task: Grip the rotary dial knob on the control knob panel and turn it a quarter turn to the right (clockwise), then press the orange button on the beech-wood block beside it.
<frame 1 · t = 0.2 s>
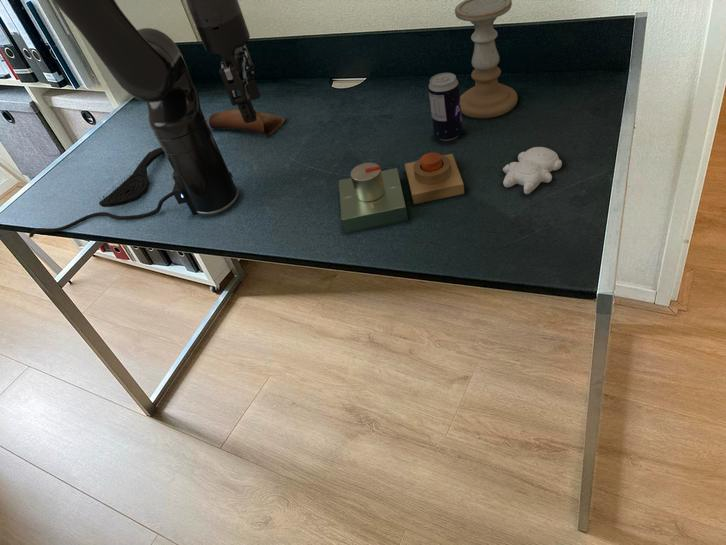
hand: (253, 109, 94), 17 cm above the table, tool pointing down, fingers open, 8 cm apart
button block: (434, 183, 97), on the table
rotary dial knob: (367, 181, 92), point 5 cm above the table, hinge at 0.0°
hairbrush: (141, 181, 120), on the table
button: (431, 162, 94), point 5 cm above the table, slide at 0.2 cm
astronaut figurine: (530, 174, 93), on the table
control knob panel: (373, 206, 96), on the table
beverage can: (448, 136, 107), on the table
sunglasses case: (249, 126, 129), on the table
candle holder: (487, 104, 113), on the table
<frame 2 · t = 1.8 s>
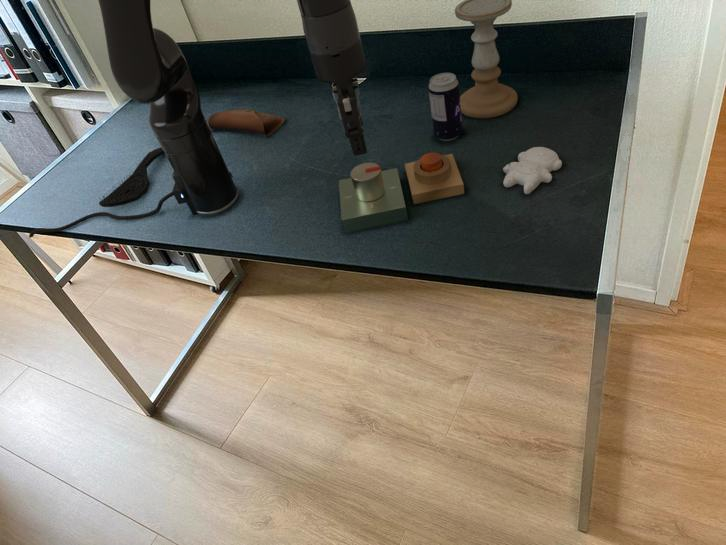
hand: (358, 139, 87), 14 cm above the table, tool pointing down, fingers open, 8 cm apart
nothing on the table moved.
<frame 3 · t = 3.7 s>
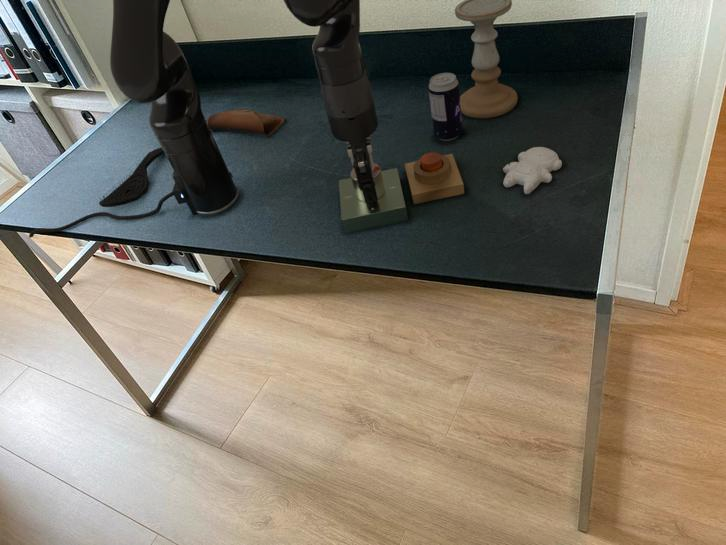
hand: (370, 191, 93), 3 cm above the table, tool pointing down, fingers closed on rotary dial knob, 5 cm apart
rotary dial knob: (367, 181, 92), point 5 cm above the table, hinge at 0.4°, touching gripper
everything else where it was.
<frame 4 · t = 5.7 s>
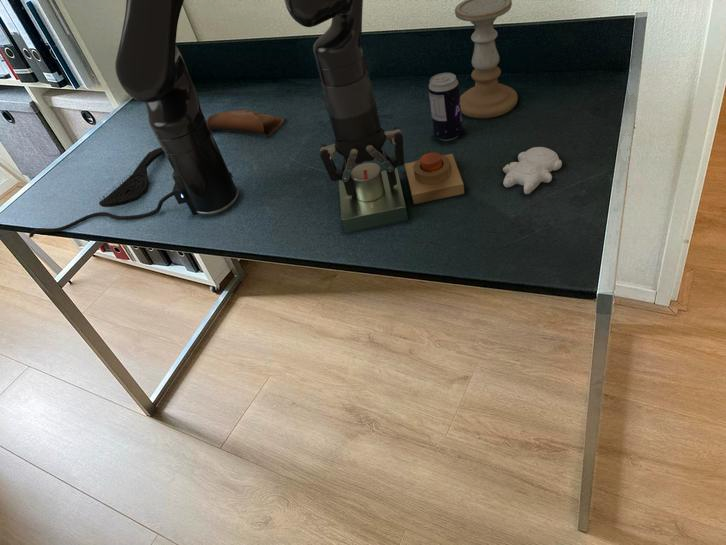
hand: (372, 190, 94), 3 cm above the table, tool pointing down, fingers open, 6 cm apart
rotary dial knob: (367, 181, 92), point 5 cm above the table, hinge at -91.3°
everything else where it was.
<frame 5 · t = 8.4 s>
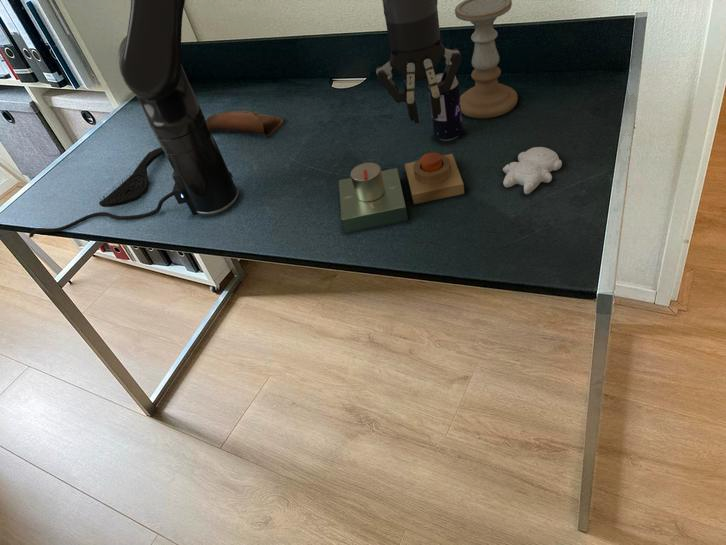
hand: (425, 118, 88), 13 cm above the table, tool pointing down, fingers closed
nothing on the table moved.
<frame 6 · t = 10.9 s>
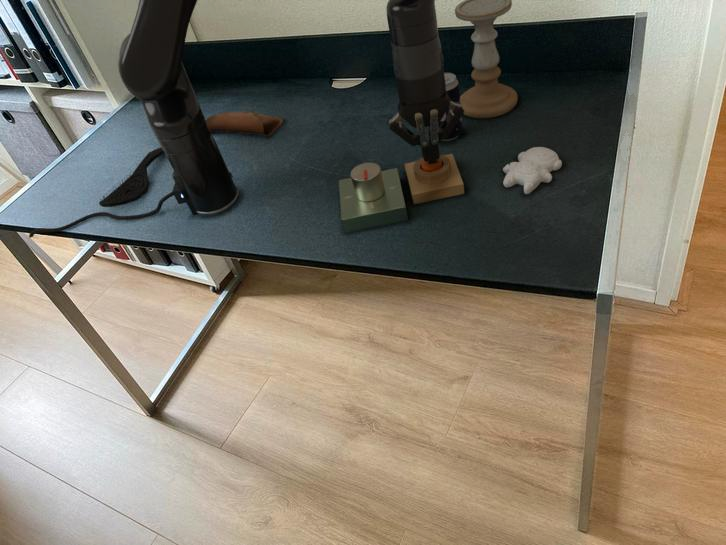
hand: (431, 161, 94), 5 cm above the table, tool pointing down, fingers closed
button: (431, 165, 94), point 4 cm above the table, slide at -0.6 cm, touching gripper
everything else where it was.
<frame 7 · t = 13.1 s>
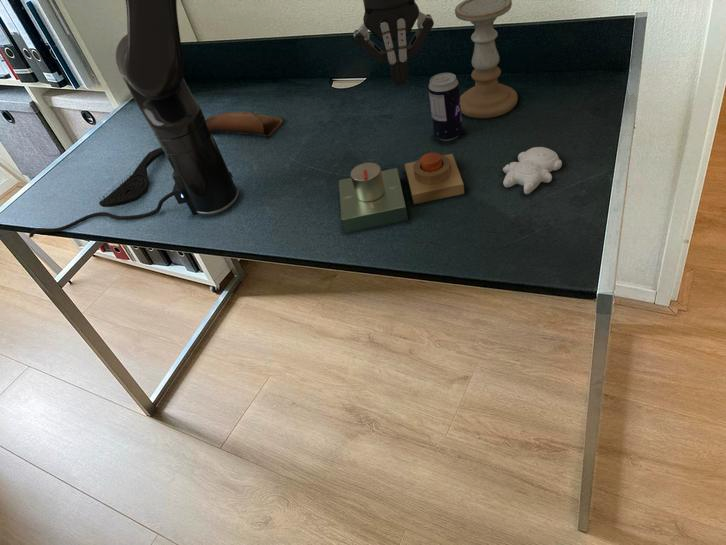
hand: (400, 82, 88), 18 cm above the table, tool pointing down, fingers closed
button: (431, 162, 94), point 5 cm above the table, slide at 0.2 cm
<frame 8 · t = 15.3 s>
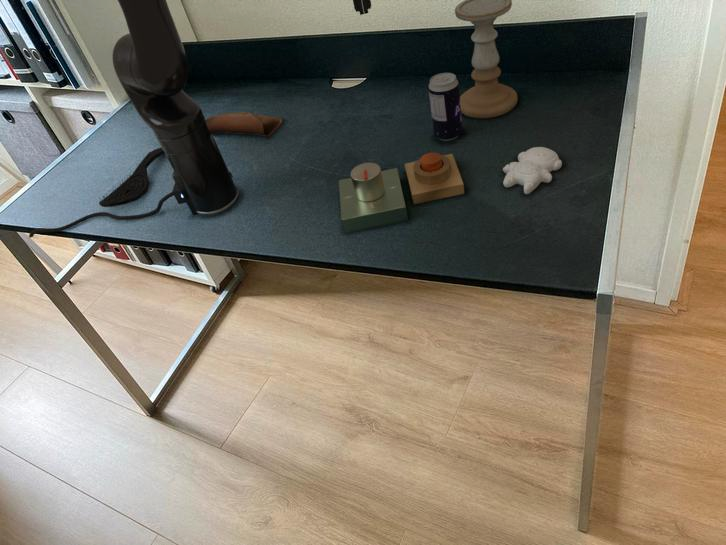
hand: (363, 12, 89), 27 cm above the table, tool pointing down, fingers closed
at the end: rotary dial knob at -91° (first picture: +0°); button pushed in 1.1 cm at the most during the clip, back to 0.2 cm at the end; button slide at 0.2 cm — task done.
